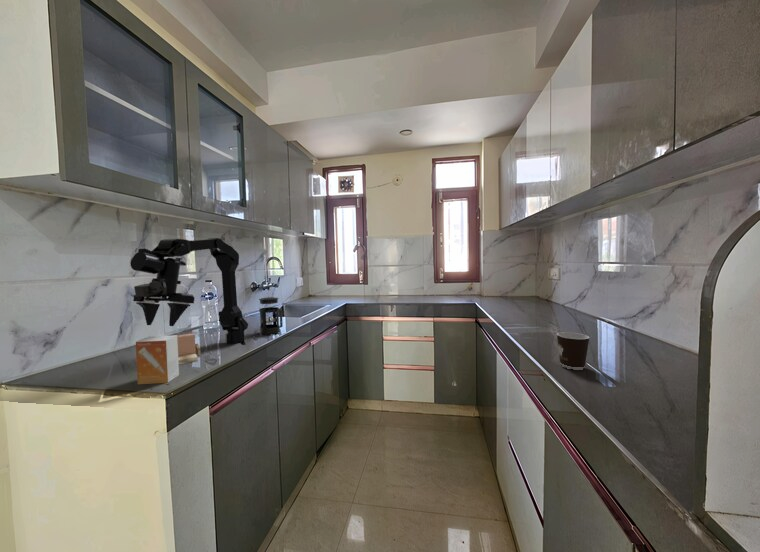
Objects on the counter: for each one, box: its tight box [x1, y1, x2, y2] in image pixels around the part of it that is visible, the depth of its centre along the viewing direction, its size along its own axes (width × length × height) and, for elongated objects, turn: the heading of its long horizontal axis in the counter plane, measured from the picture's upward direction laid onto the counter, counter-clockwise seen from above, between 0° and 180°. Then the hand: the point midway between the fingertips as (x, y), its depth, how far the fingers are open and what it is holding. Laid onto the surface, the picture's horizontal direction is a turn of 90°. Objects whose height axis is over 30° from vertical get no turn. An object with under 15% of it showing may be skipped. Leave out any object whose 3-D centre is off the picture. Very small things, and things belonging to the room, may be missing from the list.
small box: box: [135, 334, 180, 386], centre depth 89 cm, size 8×6×13 cm
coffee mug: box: [556, 331, 590, 367], centre depth 97 cm, size 12×9×10 cm
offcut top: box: [178, 354, 199, 366], centre depth 105 cm, size 6×4×2 cm
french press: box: [258, 285, 283, 336], centre depth 148 cm, size 12×9×23 cm
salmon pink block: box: [177, 333, 197, 357], centre depth 109 cm, size 6×3×9 cm, turn 127°
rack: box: [195, 343, 202, 358], centre depth 111 cm, size 9×8×4 cm
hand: (159, 325), depth 96 cm, fingers open, 9 cm apart
